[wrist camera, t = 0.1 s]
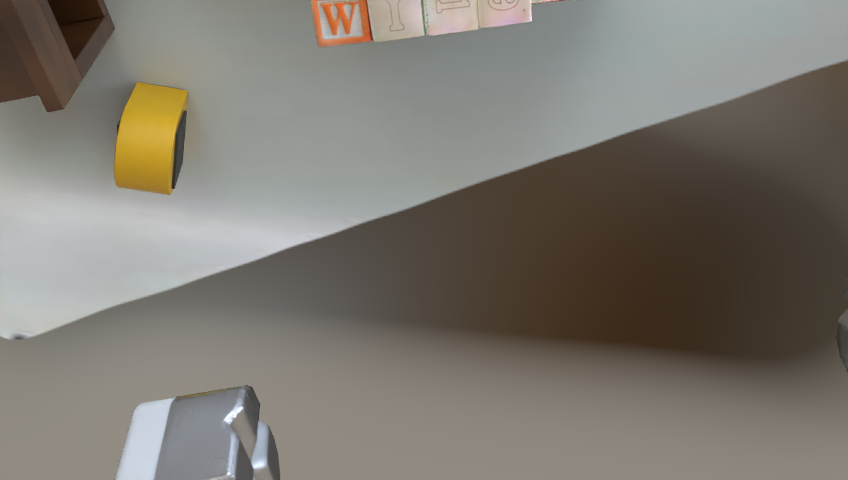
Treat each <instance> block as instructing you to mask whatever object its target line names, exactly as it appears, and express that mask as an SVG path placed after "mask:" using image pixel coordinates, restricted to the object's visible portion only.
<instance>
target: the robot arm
mask: <svg viewBox="0 0 848 480" xmlns="http://www.w3.org/2000/svg"><path fill="white" fill-rule="evenodd" d="M844 294H845V296H846V297H847V298H848V277H847V279H846V283H845V288H844ZM836 338H837V343H838V348H839V353H840V357H841V359H842V362H843V364H844V366H845V368H846V370H847V372H848V309H847V310H846V311H845V313H844V314H843V315H842V316H841V317H840V318H839V321H838V329H837V336H836ZM259 409H260V403H259V401H258V398H257V396H256V394H255V392H254V390H253V388H252V387H251V386H248V385H244V386H239V387H233V388H226V389H220V390H214V391H208V392H202V393H196V394H190V395H184V396H178V397H176V398H171V399H165V400H159V401H152V402H146V403H140V404H139V405H138V407H137V408H136V410H135V411H134V412H133V414H132V417H131V421H130V425H129V428H128V432H127V436H126V439H125V443H124V446H123V450H122V453H121V457H120V461H119V464H118V468H117V471H116V475H115V478H114V480H280V470H279V460H278V452H277V448H276V444H275V440H274V437H273V435H272V432H271V430H270V427H269V426H268V425H266V424H265V423H263V422H261V421H259Z"/></svg>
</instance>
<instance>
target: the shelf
mask: <svg viewBox="0 0 848 480" xmlns="http://www.w3.org/2000/svg"><path fill="white" fill-rule="evenodd" d="M107 12H108V10H107V8H106V6H105V3H104V1H103V0H0V103H1V102H6V101H11V100H16V99H21V98H26V97H32V96H37V95H39V96H40V98H41V100H42V103H43V105H44V107H45V109H46V111H47V112H52V111H57V110H62V109H64V108H65V106H66V105H67V103H68V101H69V100H70V98H71V97H72V95H73V94H74V92H75V90H76V89H77V87H78V86H79V84H80V83H81V81H82V79H83V78H84V76H85V75H86V73H87V72H88V70H89V68H90V67H91V65H92V64H93V62H94V60H95V59H96V57H97V56H98V54H99V53H100V51H101V49H102V48H103V46H104V45H105V43H106V41H107V40H108V38H109V37H110V35H111V34H112V32H113V30H114V29H115V28H114V25H113V23H112V20H111V18H110V15H109V13H107Z"/></svg>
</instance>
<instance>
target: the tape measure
mask: <svg viewBox="0 0 848 480" xmlns="http://www.w3.org/2000/svg"><path fill="white" fill-rule="evenodd" d="M187 97H188V91H186V90H180V89H175V88H169V87H163V86H157V85H152V84H146V83H140V82H137V84H136V86H135V88H134V90H133V92H132V94H131V96H130V98H129V100H128V102H127V104H126V106H125V108H124V111H123V113H122V117H121V119H120V121H119V123H118V125H117V141H116V149H115V160H114V176H115V183H116V186H117V187H120V188H126V189H133V190H140V191H147V192H154V193H161V194H168V195H170V194H171V193H172V191H173V189H175V185H176V182H177V179H178V176H179V173H180V169H181V166H182V163H183V150H184V138H185V126H186V113H187V111H186V110H187Z"/></svg>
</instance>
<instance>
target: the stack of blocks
mask: <svg viewBox="0 0 848 480" xmlns="http://www.w3.org/2000/svg"><path fill="white" fill-rule="evenodd" d="M553 1H563V0H311V6H312V13H313V19H314V25H315V31H316V37H317V43H318V46H319V47H328V46H337V45H345V44H354V43H362V42H369V41H371V40H372V41H374V42H383V41H391V40H398V39H406V38H413V37H420V36H424V35H425V34H427V35H428V36H435V35H443V34H450V33H458V32H465V31H473V30H476V29H478V28H491V27H498V26H506V25H513V24H520V23H528V22H531V21H532V16H531V4H536V3H544V2H553ZM570 1H575V0H570Z"/></svg>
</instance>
